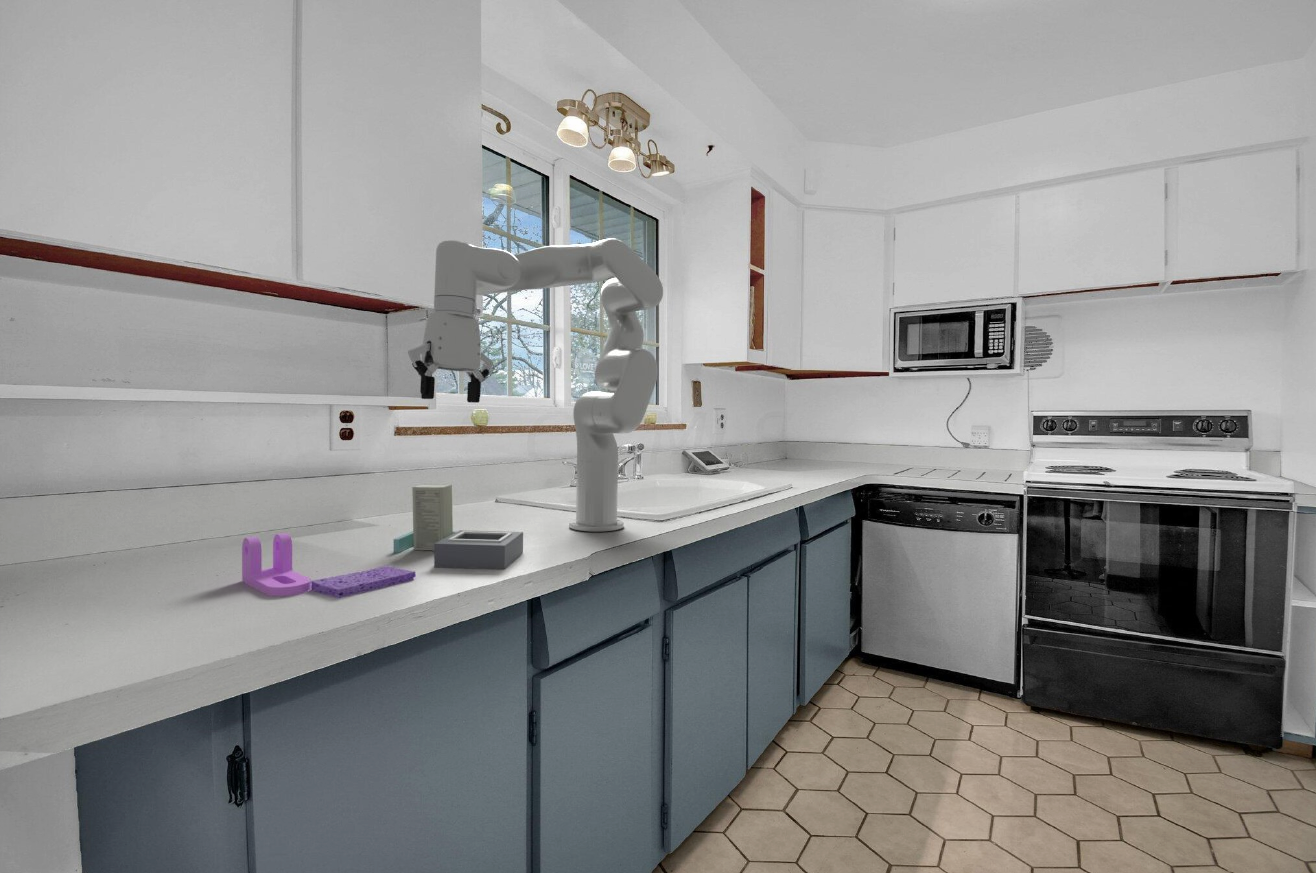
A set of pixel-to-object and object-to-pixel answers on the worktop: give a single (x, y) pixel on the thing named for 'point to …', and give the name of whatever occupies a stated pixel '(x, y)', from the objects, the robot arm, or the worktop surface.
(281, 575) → the bracket
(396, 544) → the teal l-shaped piece
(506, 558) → the socket block
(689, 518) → the worktop surface
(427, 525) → the skincare box
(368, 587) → the sponges
